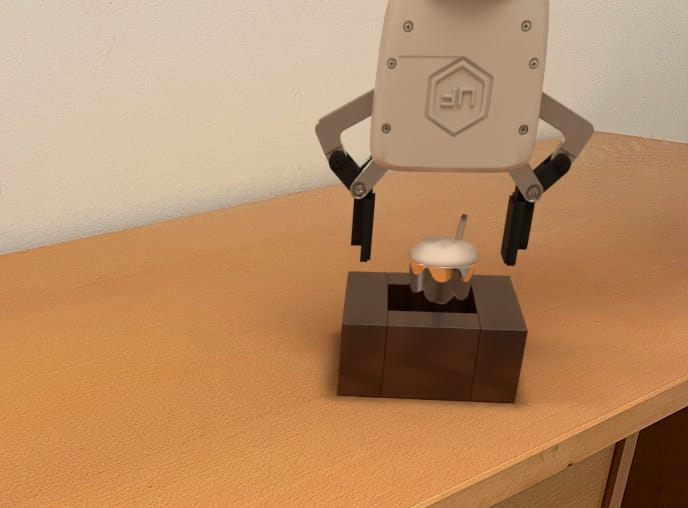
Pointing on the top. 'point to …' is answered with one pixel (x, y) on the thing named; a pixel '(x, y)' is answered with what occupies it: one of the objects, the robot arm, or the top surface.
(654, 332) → the top surface
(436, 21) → the robot arm
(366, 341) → the holder
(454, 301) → the milkshake
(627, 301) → the top surface
